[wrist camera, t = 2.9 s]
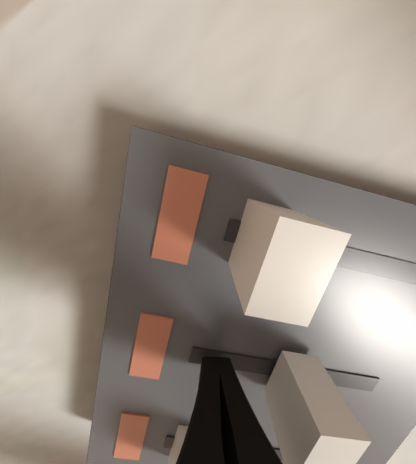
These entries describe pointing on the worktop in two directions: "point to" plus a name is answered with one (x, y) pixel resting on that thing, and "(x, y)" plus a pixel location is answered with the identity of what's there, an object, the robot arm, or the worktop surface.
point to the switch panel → (218, 311)
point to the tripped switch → (311, 414)
